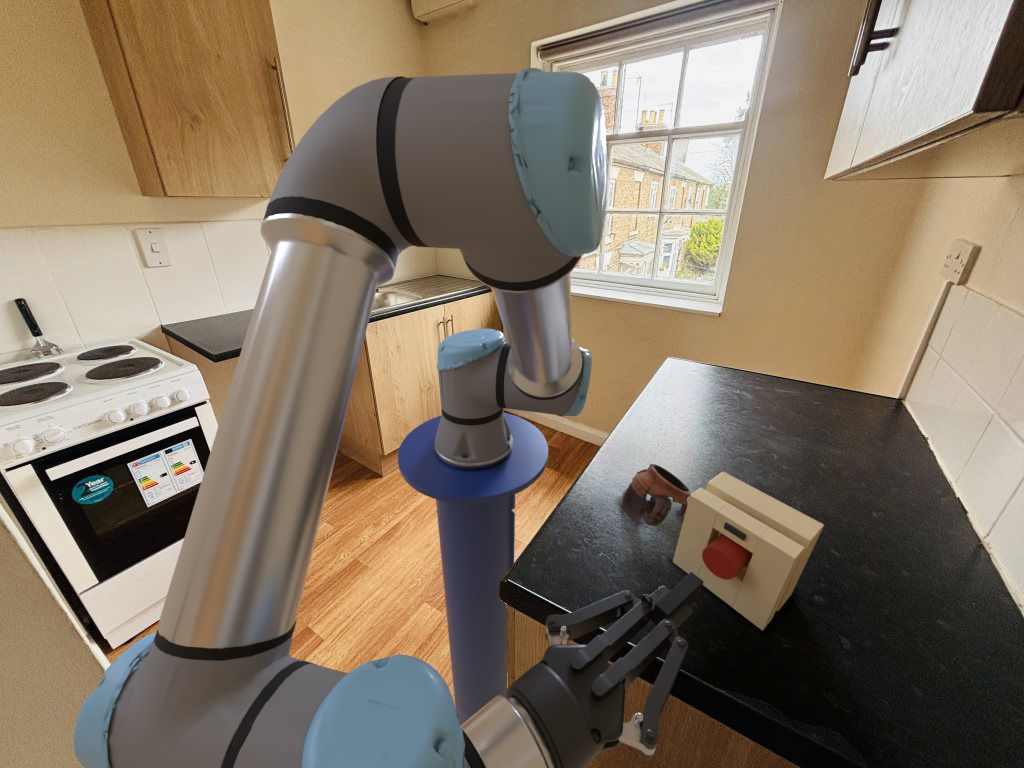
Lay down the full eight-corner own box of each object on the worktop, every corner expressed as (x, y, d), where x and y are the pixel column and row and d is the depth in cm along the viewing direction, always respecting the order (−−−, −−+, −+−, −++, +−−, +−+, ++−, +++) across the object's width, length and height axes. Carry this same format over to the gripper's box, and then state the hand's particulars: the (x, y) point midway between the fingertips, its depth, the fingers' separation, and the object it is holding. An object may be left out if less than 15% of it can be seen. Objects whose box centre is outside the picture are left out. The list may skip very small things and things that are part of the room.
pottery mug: (613, 489, 70) (641, 452, 68) (660, 519, 69) (690, 482, 67) (619, 526, 58) (653, 482, 56) (676, 561, 58) (712, 518, 56)
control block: (671, 563, 56) (688, 495, 50) (703, 535, 60) (723, 471, 55) (761, 632, 47) (794, 560, 42) (791, 594, 52) (824, 524, 46)
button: (698, 563, 50) (705, 540, 48) (715, 548, 52) (723, 525, 50) (730, 586, 47) (739, 562, 45) (747, 569, 49) (756, 545, 47)
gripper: (484, 692, 38) (640, 567, 51) (583, 858, 29) (745, 654, 41) (482, 643, 35) (650, 523, 48) (594, 813, 25) (766, 607, 38)
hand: (694, 585), depth 44 cm, fingers closed
